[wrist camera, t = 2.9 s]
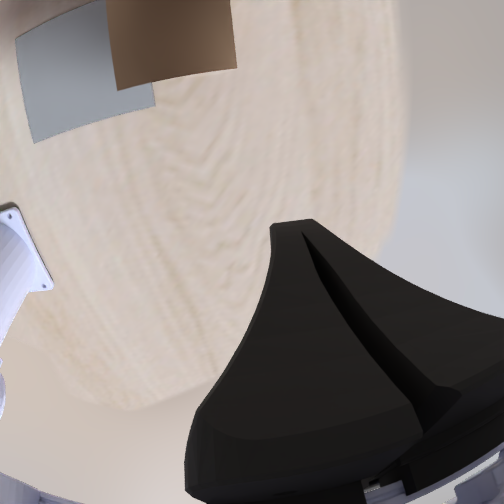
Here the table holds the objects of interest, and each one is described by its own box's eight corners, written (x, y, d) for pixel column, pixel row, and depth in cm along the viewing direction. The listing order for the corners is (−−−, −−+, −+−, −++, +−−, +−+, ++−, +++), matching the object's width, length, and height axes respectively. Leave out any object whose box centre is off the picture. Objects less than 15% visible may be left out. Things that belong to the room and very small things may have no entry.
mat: (35, 142, 15) (33, 143, 15) (16, 39, 10) (15, 39, 10) (155, 105, 15) (154, 106, 15) (140, -13, 11) (139, -14, 11)
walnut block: (160, 80, 15) (117, 91, 8) (150, 5, 12) (103, -32, 5) (228, 69, 15) (237, 68, 8) (220, -7, 12) (223, -58, 5)
